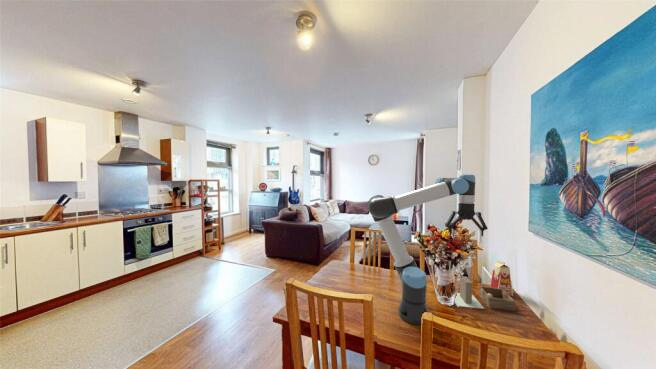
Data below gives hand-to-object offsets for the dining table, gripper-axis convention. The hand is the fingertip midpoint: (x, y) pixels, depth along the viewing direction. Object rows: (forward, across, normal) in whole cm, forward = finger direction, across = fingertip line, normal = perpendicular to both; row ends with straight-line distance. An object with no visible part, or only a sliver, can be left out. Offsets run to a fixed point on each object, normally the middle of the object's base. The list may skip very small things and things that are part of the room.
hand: (465, 241), depth 125 cm
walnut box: (+37, -19, -8) cm, 42 cm away
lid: (+37, -3, -6) cm, 38 cm away
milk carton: (+37, -28, -23) cm, 52 cm away
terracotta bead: (+36, -17, -11) cm, 41 cm away
